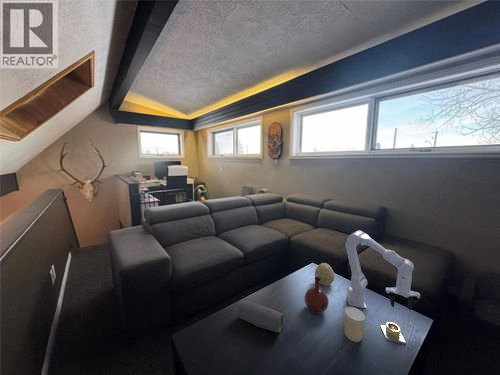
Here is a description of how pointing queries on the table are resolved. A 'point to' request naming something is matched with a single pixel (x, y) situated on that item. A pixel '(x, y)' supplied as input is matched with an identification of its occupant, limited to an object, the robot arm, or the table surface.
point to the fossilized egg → (324, 274)
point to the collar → (392, 332)
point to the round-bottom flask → (316, 298)
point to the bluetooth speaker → (260, 316)
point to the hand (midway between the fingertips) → (400, 307)
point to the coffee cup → (354, 323)
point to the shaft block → (389, 338)
